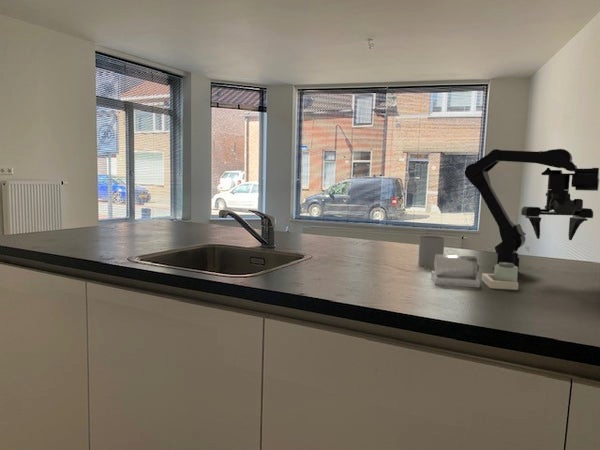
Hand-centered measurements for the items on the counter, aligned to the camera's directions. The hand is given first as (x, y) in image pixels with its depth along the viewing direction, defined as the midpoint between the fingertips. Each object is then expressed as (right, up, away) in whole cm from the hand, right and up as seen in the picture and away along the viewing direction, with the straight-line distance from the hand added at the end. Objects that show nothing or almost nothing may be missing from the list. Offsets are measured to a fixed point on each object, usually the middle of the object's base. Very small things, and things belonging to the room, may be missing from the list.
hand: (554, 239), depth 132 cm
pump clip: (-23, -13, -11) cm, 28 cm away
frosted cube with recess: (-21, -13, -11) cm, 27 cm away
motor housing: (-35, -12, -8) cm, 38 cm away
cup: (-33, -10, +18) cm, 39 cm away
